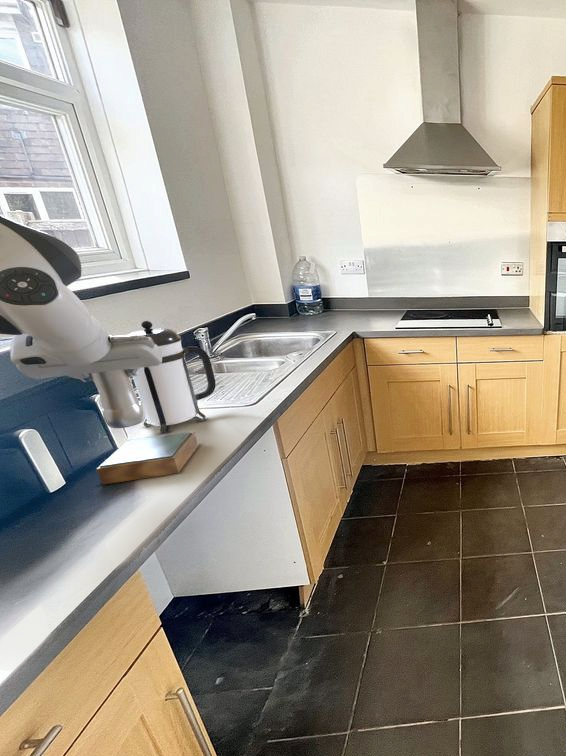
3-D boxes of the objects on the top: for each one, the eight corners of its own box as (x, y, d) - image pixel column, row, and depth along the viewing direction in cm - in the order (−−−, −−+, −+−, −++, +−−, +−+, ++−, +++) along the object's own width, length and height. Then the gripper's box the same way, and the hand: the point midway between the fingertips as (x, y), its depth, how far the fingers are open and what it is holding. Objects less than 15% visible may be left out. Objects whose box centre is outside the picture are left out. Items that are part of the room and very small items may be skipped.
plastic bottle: (146, 427, 90) (118, 337, 84) (104, 434, 87) (72, 341, 80) (149, 417, 95) (123, 332, 89) (110, 424, 92) (80, 335, 85)
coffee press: (196, 431, 116) (166, 325, 106) (129, 436, 112) (92, 327, 102) (223, 407, 132) (199, 313, 121) (166, 411, 128) (136, 315, 118)
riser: (102, 484, 91) (95, 467, 89) (131, 455, 103) (126, 439, 102) (178, 472, 95) (173, 456, 94) (198, 445, 108) (194, 430, 106)
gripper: (148, 321, 82) (172, 357, 94) (1, 332, 73) (47, 370, 84) (149, 348, 80) (173, 381, 91) (-3, 362, 71) (45, 397, 82)
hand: (111, 376), depth 88 cm, fingers closed on plastic bottle, 6 cm apart
